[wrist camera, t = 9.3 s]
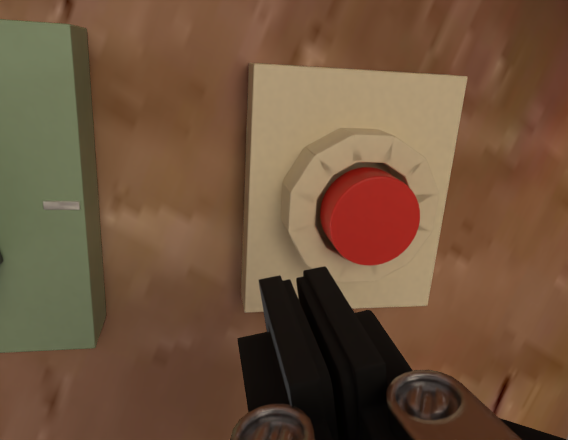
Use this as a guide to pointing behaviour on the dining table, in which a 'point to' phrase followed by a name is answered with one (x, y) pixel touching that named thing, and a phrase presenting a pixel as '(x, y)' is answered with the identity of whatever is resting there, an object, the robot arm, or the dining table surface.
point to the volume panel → (48, 191)
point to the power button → (369, 216)
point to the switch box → (343, 171)
